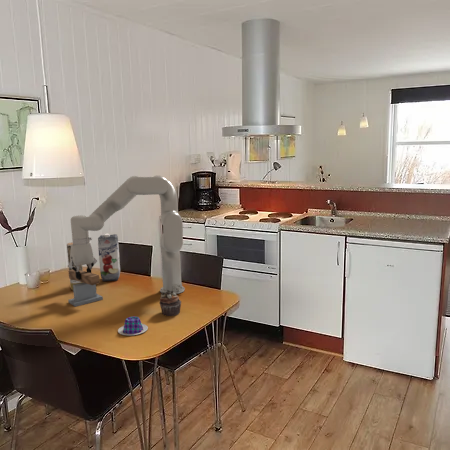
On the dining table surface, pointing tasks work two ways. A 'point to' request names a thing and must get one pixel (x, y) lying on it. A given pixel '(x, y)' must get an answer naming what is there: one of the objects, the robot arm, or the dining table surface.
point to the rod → (85, 277)
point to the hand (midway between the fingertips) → (83, 277)
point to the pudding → (132, 326)
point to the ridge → (84, 294)
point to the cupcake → (170, 303)
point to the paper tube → (72, 282)
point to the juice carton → (109, 257)
